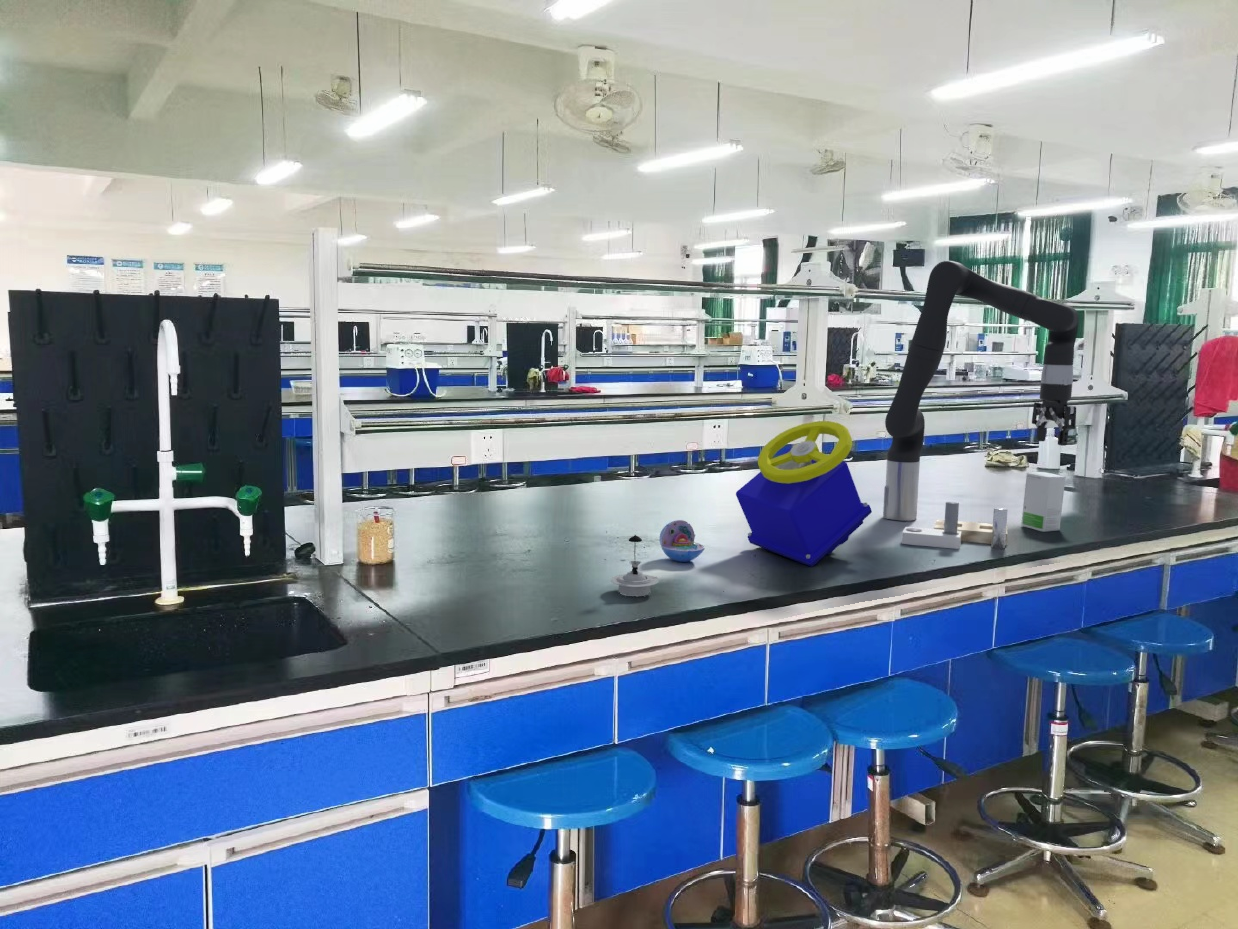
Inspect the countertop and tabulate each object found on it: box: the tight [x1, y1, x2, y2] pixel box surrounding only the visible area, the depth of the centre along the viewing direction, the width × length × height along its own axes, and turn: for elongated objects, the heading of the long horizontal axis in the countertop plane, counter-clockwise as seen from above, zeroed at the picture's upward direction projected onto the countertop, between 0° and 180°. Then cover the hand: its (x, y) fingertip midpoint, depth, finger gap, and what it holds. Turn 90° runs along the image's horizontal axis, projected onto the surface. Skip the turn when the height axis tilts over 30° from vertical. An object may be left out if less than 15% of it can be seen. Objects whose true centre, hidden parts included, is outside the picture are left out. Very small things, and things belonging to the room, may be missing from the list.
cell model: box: [658, 519, 705, 563], centre depth 213 cm, size 10×12×10 cm
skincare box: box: [1020, 471, 1066, 533], centre depth 253 cm, size 8×7×16 cm
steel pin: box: [991, 507, 1008, 550], centre depth 230 cm, size 3×3×10 cm
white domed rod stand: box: [610, 534, 660, 595], centre depth 186 cm, size 12×10×10 cm
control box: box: [735, 420, 873, 568], centre depth 217 cm, size 26×27×30 cm
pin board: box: [933, 519, 1008, 546], centre depth 242 cm, size 18×12×3 cm, turn 67°
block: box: [901, 501, 962, 550], centre depth 234 cm, size 14×8×11 cm, turn 67°
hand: (1051, 443), depth 240 cm, fingers open, 8 cm apart
